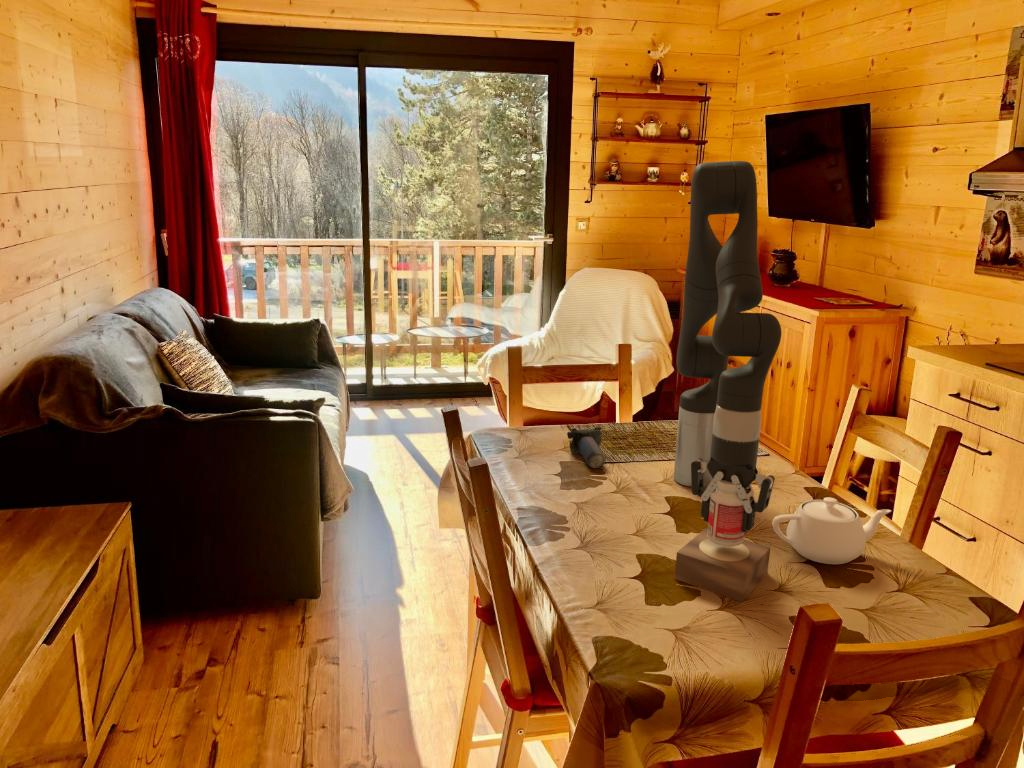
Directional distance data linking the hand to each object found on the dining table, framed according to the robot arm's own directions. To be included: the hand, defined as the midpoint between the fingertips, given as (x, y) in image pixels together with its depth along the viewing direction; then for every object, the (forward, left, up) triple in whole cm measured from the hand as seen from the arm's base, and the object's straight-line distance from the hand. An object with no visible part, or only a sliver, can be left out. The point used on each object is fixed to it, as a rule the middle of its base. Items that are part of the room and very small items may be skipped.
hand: (726, 525), depth 137 cm
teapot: (-21, +12, -10) cm, 26 cm away
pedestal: (0, 0, -10) cm, 10 cm away
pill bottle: (0, 0, -3) cm, 3 cm away
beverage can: (-34, -47, -10) cm, 59 cm away
